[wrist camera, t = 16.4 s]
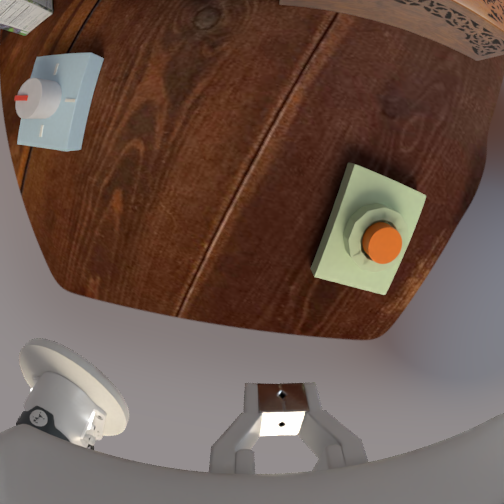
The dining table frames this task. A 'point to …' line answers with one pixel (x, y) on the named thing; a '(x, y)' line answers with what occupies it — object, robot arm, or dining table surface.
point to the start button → (382, 242)
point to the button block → (365, 228)
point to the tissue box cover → (432, 20)
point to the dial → (38, 99)
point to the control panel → (63, 101)
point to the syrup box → (23, 14)
